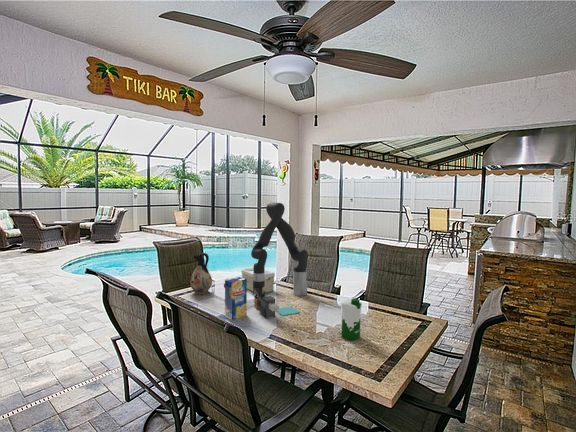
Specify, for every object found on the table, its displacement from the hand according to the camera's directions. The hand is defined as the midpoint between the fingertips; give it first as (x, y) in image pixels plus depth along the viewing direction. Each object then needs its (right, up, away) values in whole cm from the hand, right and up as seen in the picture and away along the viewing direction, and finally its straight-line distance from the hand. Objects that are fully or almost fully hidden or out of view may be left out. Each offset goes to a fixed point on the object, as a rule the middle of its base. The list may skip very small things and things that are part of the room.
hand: (258, 304), depth 209 cm
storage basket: (-4, 0, +41) cm, 41 cm away
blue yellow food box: (-12, -3, -14) cm, 19 cm away
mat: (+18, -3, -5) cm, 19 cm away
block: (0, -2, 0) cm, 2 cm away
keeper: (+7, -3, -13) cm, 15 cm away
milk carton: (+51, -6, -41) cm, 66 cm away
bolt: (+8, +3, -16) cm, 18 cm away
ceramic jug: (-44, 0, +30) cm, 54 cm away
